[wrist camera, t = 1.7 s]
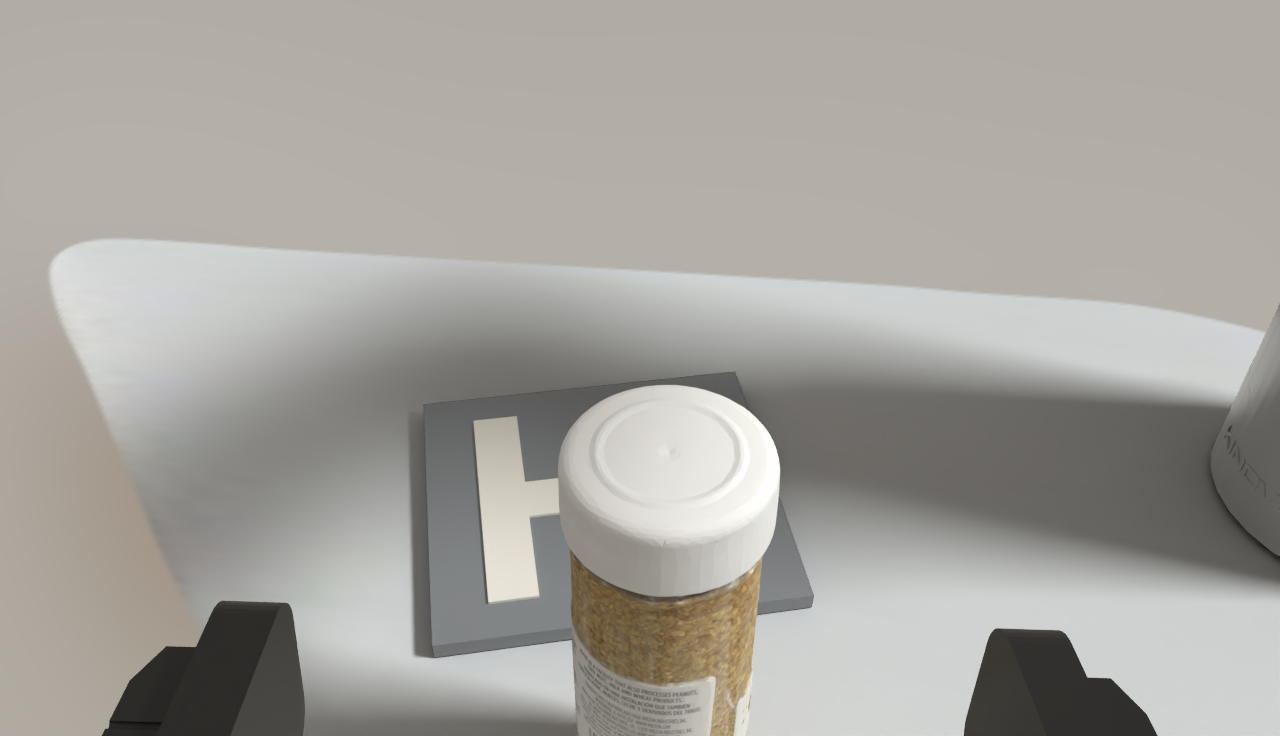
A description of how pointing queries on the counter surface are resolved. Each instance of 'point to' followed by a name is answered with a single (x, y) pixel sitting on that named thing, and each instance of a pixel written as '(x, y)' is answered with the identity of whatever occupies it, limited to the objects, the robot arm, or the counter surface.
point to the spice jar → (666, 559)
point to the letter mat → (532, 518)
